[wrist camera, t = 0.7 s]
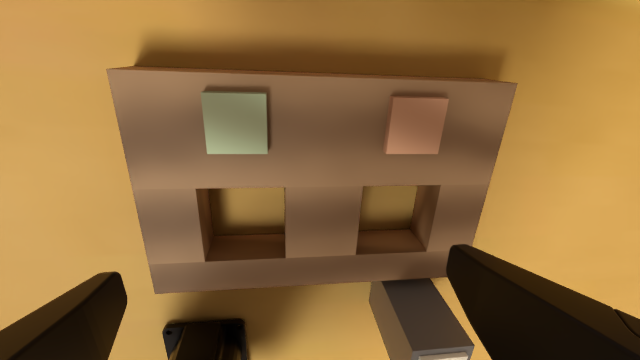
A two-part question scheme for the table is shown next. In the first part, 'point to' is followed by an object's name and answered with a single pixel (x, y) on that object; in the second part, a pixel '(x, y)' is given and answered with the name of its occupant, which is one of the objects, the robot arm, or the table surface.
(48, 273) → the table surface
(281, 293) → the table surface
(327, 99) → the socket board
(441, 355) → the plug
